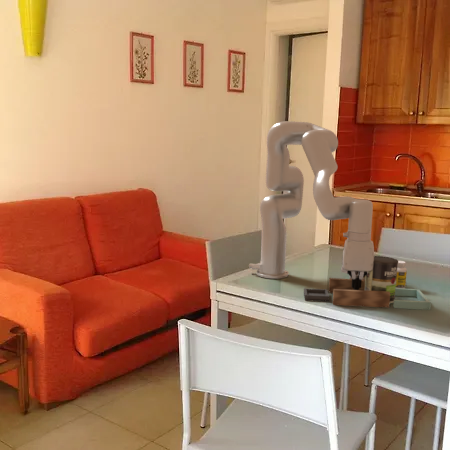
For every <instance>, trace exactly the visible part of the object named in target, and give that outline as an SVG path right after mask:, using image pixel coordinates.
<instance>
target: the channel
mask: <svg viewBox="0 0 450 450" xmlns="http://www.w3.org/2000/svg"><path fill="white" fill-rule="evenodd" d="M328 281H329V282H328V294H333V295H332V305H333V306H345V307H346V306H349V307H369V308H370V307H371V308H373V307H374V308H388V309H389V308H390V304H389V302H390V292H389V291H367V290H365V280H361V288H359V290H354V289H353V288H352V279H350V278H336V277H330V278H329V280H328Z"/></svg>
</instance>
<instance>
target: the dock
mask: <svg viewBox="0 0 450 450" xmlns="http://www.w3.org/2000/svg"><path fill="white" fill-rule="evenodd" d="M396 296H399V297H416V299H417V300H407V299H395V300H394V302H393V303H392V308H393V309H409V310H410V309H411V310H428V311H429V310H431V301H430V300H429V299H428V298H427V296H426V295H425V294H424V293H423V292H422V291H421V290H420V289H419V288H418V289H417V288H404V289H403V288H396V289H395V297H396Z"/></svg>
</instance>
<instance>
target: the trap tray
mask: <svg viewBox="0 0 450 450" xmlns="http://www.w3.org/2000/svg"><path fill="white" fill-rule="evenodd" d="M329 294H330V293H329V290H328V289H324V288H307V287H306V288H305V287H304V288H303V297H304V301H308V300H313V301H314V302H330V295H329Z"/></svg>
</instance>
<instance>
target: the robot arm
mask: <svg viewBox="0 0 450 450" xmlns="http://www.w3.org/2000/svg"><path fill="white" fill-rule="evenodd" d="M289 145H290V146H291V145H293V146H294V145H295V146H298V145H299V146H300V145H301V147H302V149H303V151H304V154H305V156H306V158H307V162H308V163H309V165H310V168H311V170H312V172H313V175H314V179H313V185H312V187H313V188H312V195H313V199H314V202H315V204H316V207H317V209H318V211H319V213H320V215H321V216H322V217H323V218H324V219H326V220H327V221H337V220H346V219H348V225H347V226H348V227H347V228H348V229H347V231H345V232H343V233H342V235H343V237H344V238H347V239H345V241H344V246H343V251H342V258H341V259H342V260H341V264H342V265H341V268H340V272H341V273H343V274H347V275H348V276H349V275H350V276H351V278H352V288H353V289H354V290H359V288H361V280H362V279H363V277H365V276H366V275H367V274H368V271H372V270H373V266H374V263H373V262H374V256H375V245H374V241H373V240H371V239H372V226H373V225H372V224H373V210H374V209H373V207H374V204H373V202H372V200H369V199H359V198H354V197H352V196H337V197H334V195H333V192H332V190H331V186H330V179H331V176H332V175H333V174H335V173H336V172H337V170H338V164H337V161H336V159H335V157H334V155H333V153H334V152H335V151H336V150H337V148H338V145H339V140H338V136H337V135H336V133H334V131H332V130H330V129H328V128H326V127H322V126H320V125H317V124H314V123H311V122H309V121H293V120H291V121H290V120H288V121H285V120H283V121H279V122H277V123H275V124H273V125H272V126H271V127H270V129H269V130H268V132H267V136H266V147H267V148H266V150H267V151H266V152H267V155H266V157H267V158H266V172H265V186H266V187H267V189H268V190H269V191H270V192H271V191H272V192H283V193H277V194H271V195H267V196H265V197H264V198H263V199H261V202H260V204H259V212H260V219H261V244H260V245H261V248H260V250H261V251H260V261H259V262H258V263H249V264H248V269H251V270H256V275H257V276H258V277H261V278H265V279H270V280H271V279H275V280H277V279H284V278H288V277H289V274H290V272H289V271H288V270H286V252H287V248H286V247H287V228H286V224H285V222H284V219H288V218H289V219H290V218H294V217H296V216H298V215H299V214H300V213H301V211H302V207H303V206H302V205H303V197H304V186H305V185H304V183H305V179H304V174H303V172H302V170H301V169H300V168H298V167H297V166H294V165H290V161H291V156H290V151H289V149H288V146H289ZM371 264H372V265H371ZM355 271H359V274H358V276H357V278H356V276H355Z"/></svg>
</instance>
